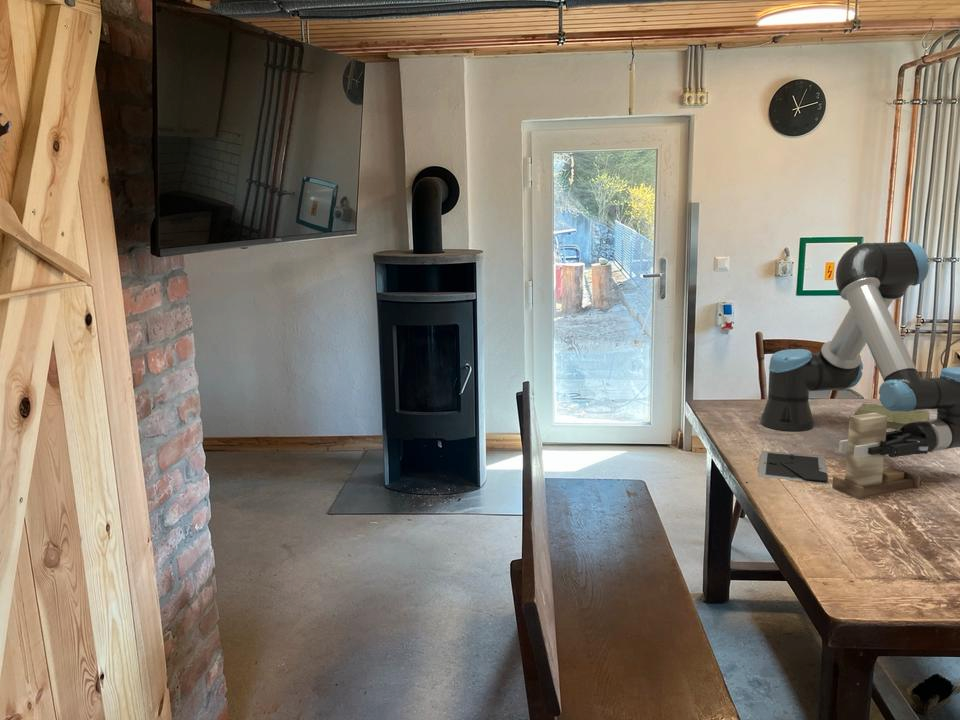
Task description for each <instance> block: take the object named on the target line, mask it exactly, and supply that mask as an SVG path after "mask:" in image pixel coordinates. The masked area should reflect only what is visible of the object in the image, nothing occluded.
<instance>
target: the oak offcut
mask: <svg viewBox="0 0 960 720" xmlns="http://www.w3.org/2000/svg"><path fill="white" fill-rule="evenodd" d="M898 480H904V472H902V471H899V470H896V469H893V468H883V475H882V481H884V482H885V483H888V482H893V481H898Z"/></svg>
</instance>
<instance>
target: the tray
mask: <svg viewBox="0 0 960 720" xmlns="http://www.w3.org/2000/svg"><path fill="white" fill-rule="evenodd" d="M888 468H893V469H896V470H899V471H902V472H904V480H898V481H893V482H888V483H885V482H884V481H882V484H877V485H872V486H867V487H861V486H859V485H856V484H854V483H851V482H849V481H846V480H845V478H841V477H839V476H837V475H834V476H832V487H831V488H832V489H834V490H835V491H838V492H840V493H842V494H846V495H848V496H850V497H852V498H855V499H856V500H859V501H862V500H868V499H872V498H876V497H877V498H878V497H881V496H882V497H883V496H888V495H893V494H897V493H903V492H907V491H913V490H916V489H920V488H921V487H920V485H921V476H920V475H916V474H914V473H911V472H909V471H907V470H906V471H905V470H903V469H900V468H897V467H894V466H891V465H889V466H888Z"/></svg>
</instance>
